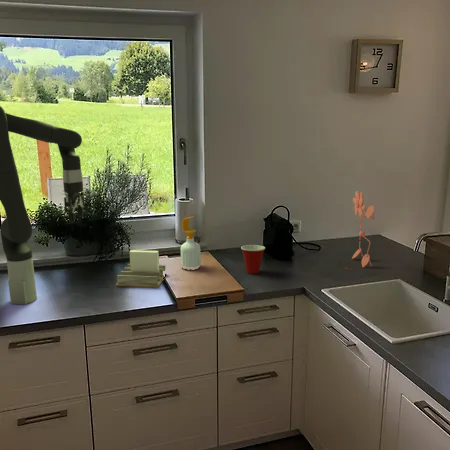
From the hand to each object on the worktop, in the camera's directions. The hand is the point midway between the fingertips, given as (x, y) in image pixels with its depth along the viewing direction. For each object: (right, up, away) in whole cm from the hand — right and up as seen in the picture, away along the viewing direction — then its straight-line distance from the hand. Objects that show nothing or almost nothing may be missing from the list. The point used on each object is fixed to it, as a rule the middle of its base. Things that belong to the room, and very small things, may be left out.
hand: (76, 219), depth 201 cm
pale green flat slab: (+27, -25, +10) cm, 38 cm away
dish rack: (+26, -26, +10) cm, 38 cm away
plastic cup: (+74, -24, +19) cm, 80 cm away
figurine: (+123, -21, +29) cm, 128 cm away
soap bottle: (+46, -22, +25) cm, 57 cm away
